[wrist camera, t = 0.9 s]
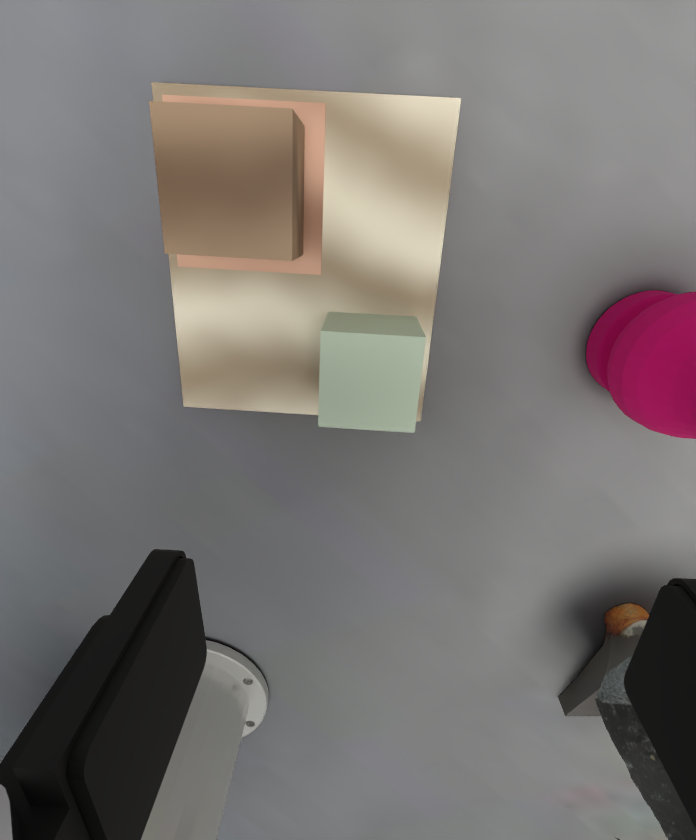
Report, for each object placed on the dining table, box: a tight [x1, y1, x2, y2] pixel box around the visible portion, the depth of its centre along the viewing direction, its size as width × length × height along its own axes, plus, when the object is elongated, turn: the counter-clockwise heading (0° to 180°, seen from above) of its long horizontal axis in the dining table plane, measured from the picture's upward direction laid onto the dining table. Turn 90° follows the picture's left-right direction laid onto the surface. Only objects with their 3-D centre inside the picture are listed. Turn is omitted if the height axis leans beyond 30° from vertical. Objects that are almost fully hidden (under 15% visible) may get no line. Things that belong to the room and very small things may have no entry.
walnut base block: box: [149, 101, 305, 261], centre depth 22 cm, size 6×6×4 cm
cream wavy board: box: [152, 82, 461, 422], centre depth 26 cm, size 17×15×1 cm
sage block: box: [318, 312, 426, 433], centre depth 25 cm, size 5×5×5 cm
